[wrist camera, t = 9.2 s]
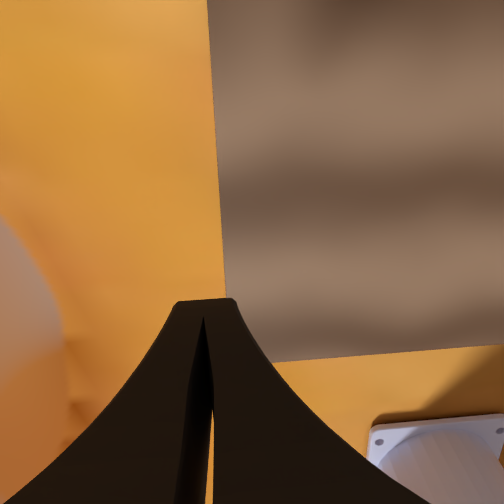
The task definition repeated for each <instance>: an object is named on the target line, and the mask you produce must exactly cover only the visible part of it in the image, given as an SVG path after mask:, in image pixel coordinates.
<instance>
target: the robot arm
mask: <svg viewBox="0 0 504 504" xmlns="http://www.w3.org/2000/svg"><path fill="white" fill-rule="evenodd" d="M212 410H213V418H214V470H213V504H504V468H503V467H502V465H501V464H500V462H499V457H500V454H501V450H502V447H503V444H504V414H489V415H478V416H467V417H456V418H445V419H434V420H423V421H412V422H401V423H390V424H379V425H375V426H373V427H372V428H371V429H370V432H369V440H368V449H367V457H366V458H364V457H363V456H362V455H361V454H360V453H358V452H357V451H356V450H355V449H354V448H353V447H351V446H350V445H349V444H348V443H347V442H346V441H344V440H343V439H342V438H341V437H340V436H339V435H337V434H336V433H335V432H334V431H333V430H332V429H330V428H329V427H328V426H327V425H326V424H325V423H324V422H323V421H322V420H321V419H320V418H319V417H318V416H317V415H316V414H315V413H314V412H313V411H312V410H311V409H310V408H309V407H308V406H307V405H306V404H305V403H304V402H303V401H302V400H301V399H300V398H299V397H298V396H297V395H296V393H295V392H294V391H293V390H292V389H291V388H290V387H289V385H288V384H287V383H286V382H285V381H284V379H283V378H282V377H281V376H280V374H279V373H278V372H277V370H276V369H275V368H274V367H273V365H272V364H271V363H270V361H269V360H268V358H267V357H266V356H265V354H264V353H263V351H262V350H261V348H260V347H259V345H258V344H257V342H256V340H255V339H254V337H253V336H252V334H251V332H250V331H249V329H248V327H247V325H246V323H245V322H244V320H243V317H242V315H241V313H240V311H239V308H238V306H237V302H236V301H235V300H234V299H233V298H219V299H205V300H191V301H178V302H177V303H176V304H175V305H174V306H173V308H172V311H171V313H170V315H169V317H168V318H167V320H166V322H165V324H164V326H163V328H162V329H161V331H160V333H159V334H158V336H157V338H156V339H155V341H154V343H153V344H152V346H151V347H150V349H149V350H148V352H147V353H146V355H145V357H144V358H143V360H142V361H141V362H140V364H139V365H138V367H137V368H136V369H135V371H134V372H133V373H132V375H131V376H130V377H129V379H128V380H127V381H126V383H125V384H124V386H123V387H122V388H121V389H120V391H119V392H118V393H117V394H116V396H115V397H114V398H113V399H112V401H111V402H110V403H109V404H108V405H107V406H106V408H105V409H104V410H103V411H102V412H101V413H100V414H99V416H98V417H97V418H96V419H95V420H94V421H93V422H92V423H91V424H90V425H89V427H88V428H87V429H86V430H85V431H84V432H83V433H82V434H81V435H80V436H79V437H78V438H77V439H76V440H75V441H74V442H73V443H72V444H71V445H70V446H69V447H68V448H67V449H66V450H65V451H64V452H63V453H62V454H61V455H59V456H58V457H57V458H56V459H55V460H54V461H53V462H52V463H51V464H50V465H49V466H48V467H47V468H45V469H44V470H43V471H42V472H41V473H40V474H39V475H37V476H36V477H35V478H34V479H33V480H31V481H30V482H29V483H28V484H27V485H26V486H24V487H23V488H22V489H21V490H20V491H18V492H17V493H16V494H15V495H14V496H12V497H11V498H10V499H9V500H7V501H6V502H5V503H4V504H205V496H206V484H207V471H208V458H209V445H210V432H211V419H212Z"/></svg>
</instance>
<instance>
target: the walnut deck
mask: <svg viewBox="0 0 504 504" xmlns="http://www.w3.org/2000/svg"><path fill="white" fill-rule="evenodd" d="M207 8H208V23H209V39H210V54H211V69H212V85H213V100H214V116H215V131H216V146H217V162H218V177H219V193H220V208H221V224H222V239H223V254H224V270H225V285H226V298H233V299H234V300H235V301H236V302H237V306H238V308H239V311H240V313H241V315H242V317H243V320H244V322H245V323H246V325H247V327H248V329H249V331H250V332H251V334H252V336H253V337H254V339H255V340H256V342H257V344H258V345H259V347H260V348H261V350H262V351H263V353H264V354H265V356H266V357H267V358H268V360H269V361H270V363H275V362H287V361H300V360H312V359H325V358H337V357H349V356H362V355H374V354H386V353H399V352H411V351H423V350H436V349H448V348H460V347H473V346H485V345H497V344H504V0H207Z"/></svg>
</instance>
